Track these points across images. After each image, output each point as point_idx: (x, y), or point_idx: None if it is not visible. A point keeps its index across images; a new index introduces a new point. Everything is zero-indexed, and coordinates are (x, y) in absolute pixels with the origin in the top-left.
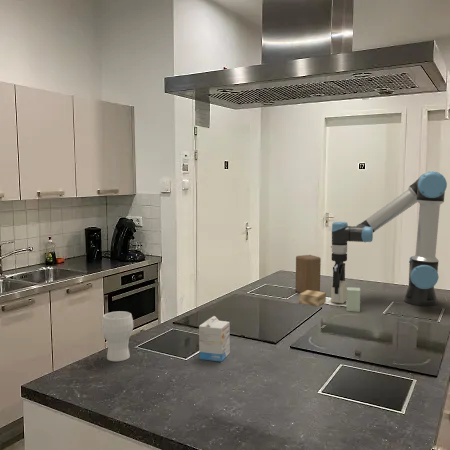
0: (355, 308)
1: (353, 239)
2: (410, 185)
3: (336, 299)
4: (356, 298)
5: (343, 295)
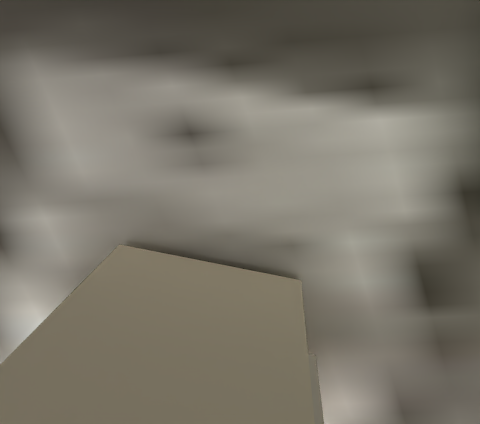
0: None
1: None
2: None
3: None
4: None
5: (282, 349)
